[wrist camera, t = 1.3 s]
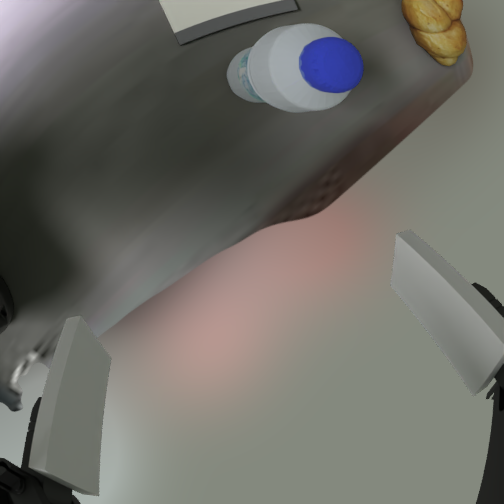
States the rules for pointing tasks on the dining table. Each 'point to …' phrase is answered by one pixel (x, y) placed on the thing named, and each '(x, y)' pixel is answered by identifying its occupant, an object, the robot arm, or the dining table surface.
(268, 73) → the bottle
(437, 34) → the bread roll
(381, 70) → the dining table surface
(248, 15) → the mat
